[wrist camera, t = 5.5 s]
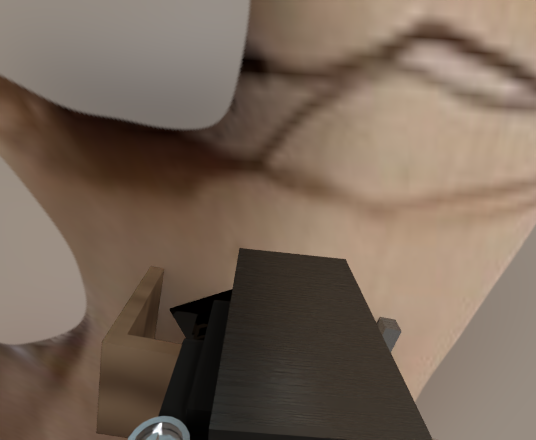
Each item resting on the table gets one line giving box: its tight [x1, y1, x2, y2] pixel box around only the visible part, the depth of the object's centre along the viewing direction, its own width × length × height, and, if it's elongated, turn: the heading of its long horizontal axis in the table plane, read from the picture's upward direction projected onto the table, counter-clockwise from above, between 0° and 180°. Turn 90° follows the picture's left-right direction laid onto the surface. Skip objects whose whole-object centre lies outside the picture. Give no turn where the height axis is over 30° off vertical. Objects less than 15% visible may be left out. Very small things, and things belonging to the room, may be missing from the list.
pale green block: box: [377, 317, 401, 353], centre depth 31 cm, size 8×3×4 cm, turn 166°
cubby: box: [96, 266, 182, 438], centre depth 27 cm, size 9×17×10 cm, turn 76°
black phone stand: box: [170, 289, 233, 340], centre depth 30 cm, size 12×7×5 cm, turn 109°
